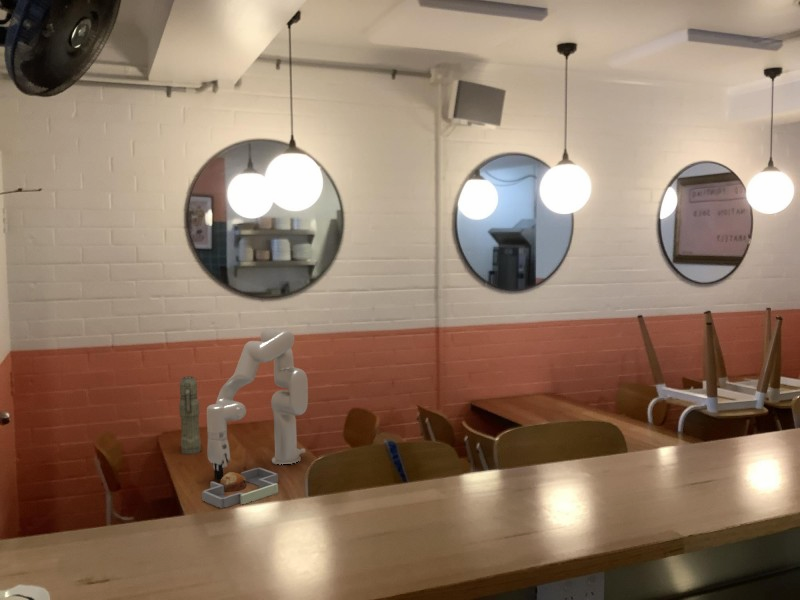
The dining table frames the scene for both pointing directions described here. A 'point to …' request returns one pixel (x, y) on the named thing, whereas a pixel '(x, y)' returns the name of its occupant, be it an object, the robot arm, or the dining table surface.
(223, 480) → the bread roll
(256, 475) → the channel
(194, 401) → the grey green carved statue
